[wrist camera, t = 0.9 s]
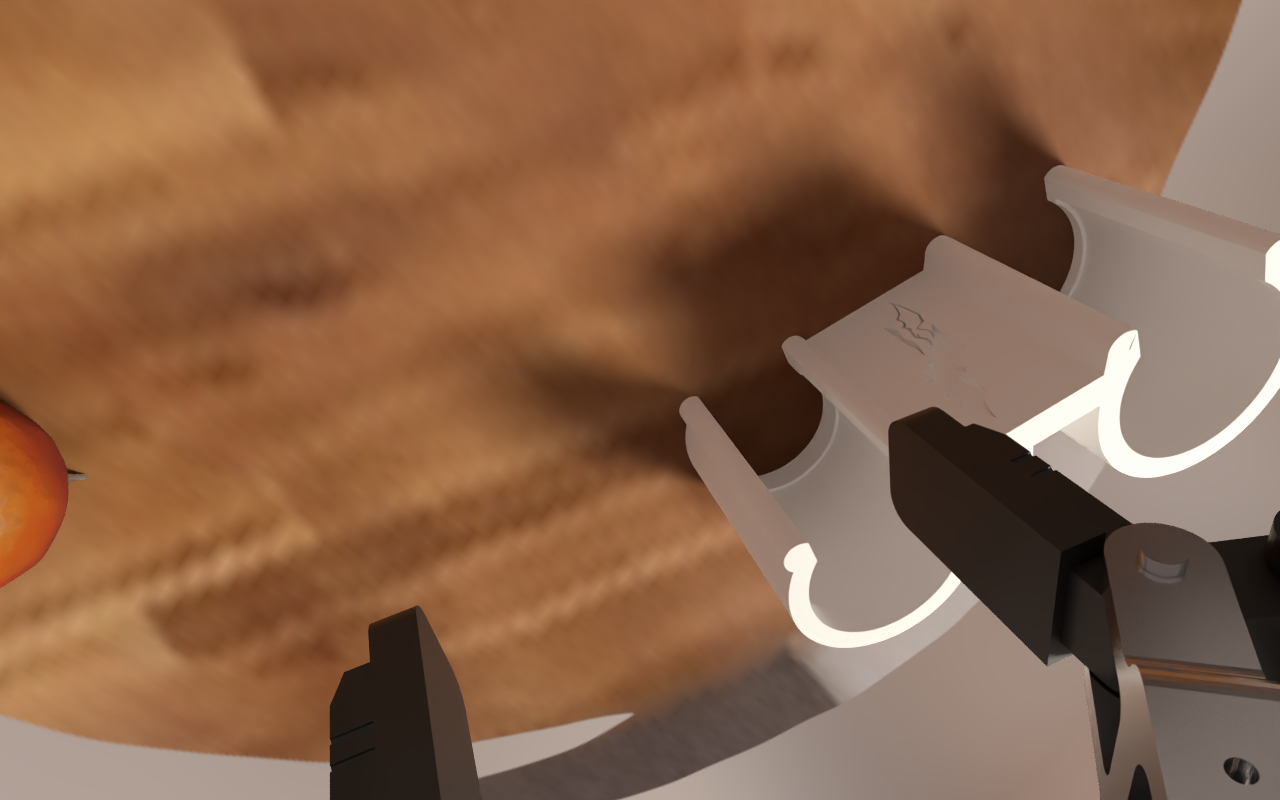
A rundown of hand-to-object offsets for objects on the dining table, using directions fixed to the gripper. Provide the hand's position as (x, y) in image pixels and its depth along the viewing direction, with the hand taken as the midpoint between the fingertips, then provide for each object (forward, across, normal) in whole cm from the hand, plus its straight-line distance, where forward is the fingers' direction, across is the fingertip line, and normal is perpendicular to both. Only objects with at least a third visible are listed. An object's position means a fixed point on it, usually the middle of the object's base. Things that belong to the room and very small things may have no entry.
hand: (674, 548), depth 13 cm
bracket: (+23, -19, +14) cm, 34 cm away
